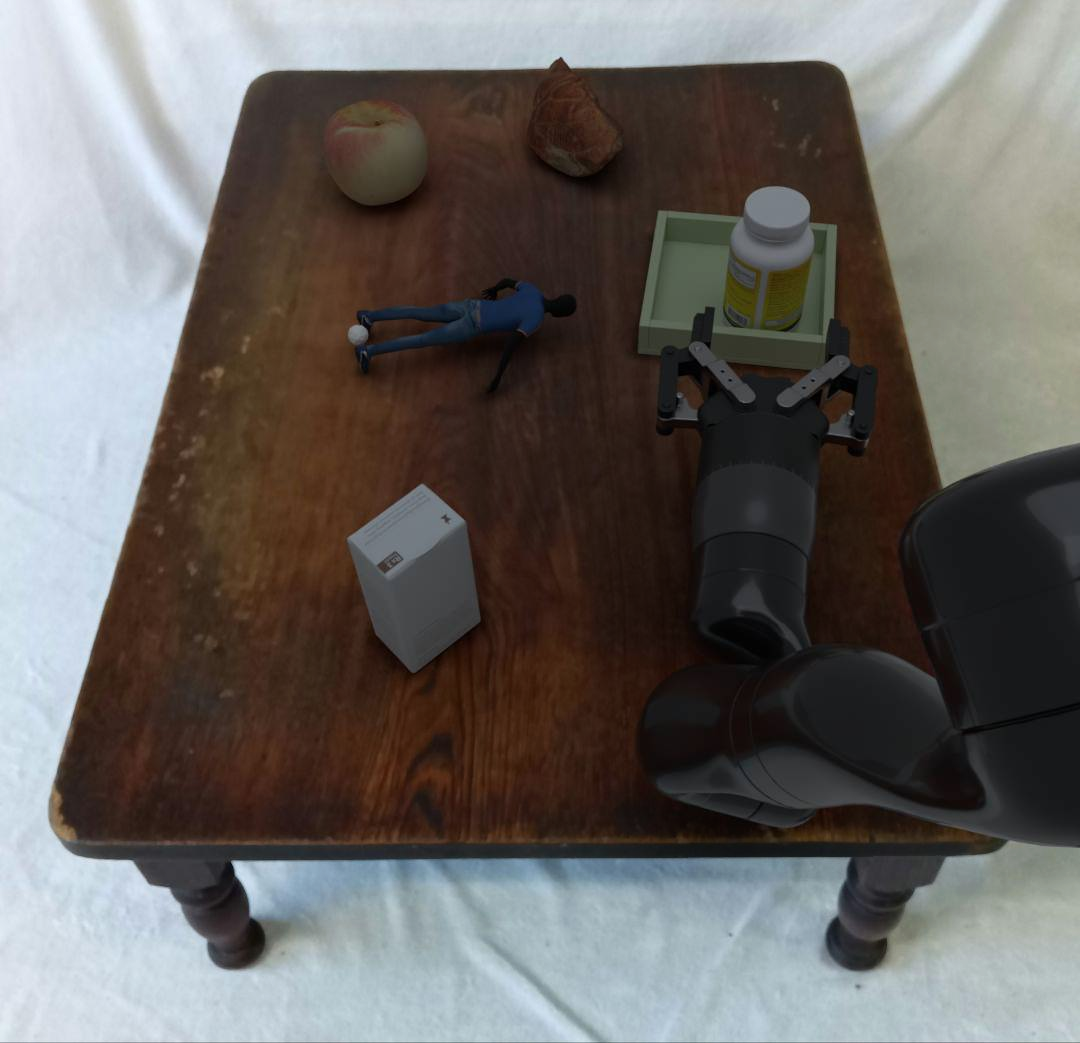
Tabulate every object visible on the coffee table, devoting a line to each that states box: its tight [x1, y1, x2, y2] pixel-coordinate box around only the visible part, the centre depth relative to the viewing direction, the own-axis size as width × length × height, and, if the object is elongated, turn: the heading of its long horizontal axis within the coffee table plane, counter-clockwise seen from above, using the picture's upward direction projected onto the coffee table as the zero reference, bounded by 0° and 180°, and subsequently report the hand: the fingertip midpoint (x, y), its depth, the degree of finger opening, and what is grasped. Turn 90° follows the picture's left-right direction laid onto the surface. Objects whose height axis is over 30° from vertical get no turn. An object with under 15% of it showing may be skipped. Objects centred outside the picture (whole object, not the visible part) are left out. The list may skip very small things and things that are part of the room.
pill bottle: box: [723, 185, 814, 333], centre depth 90 cm, size 6×6×11 cm
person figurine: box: [347, 277, 578, 396], centre depth 93 cm, size 11×4×18 cm
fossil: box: [525, 56, 626, 178], centre depth 106 cm, size 13×8×10 cm
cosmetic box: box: [346, 483, 482, 674], centre depth 74 cm, size 6×4×12 cm
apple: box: [322, 99, 429, 206], centre depth 103 cm, size 9×9×8 cm
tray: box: [637, 209, 838, 371], centre depth 95 cm, size 15×14×3 cm
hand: (770, 321), depth 83 cm, fingers open, 8 cm apart
